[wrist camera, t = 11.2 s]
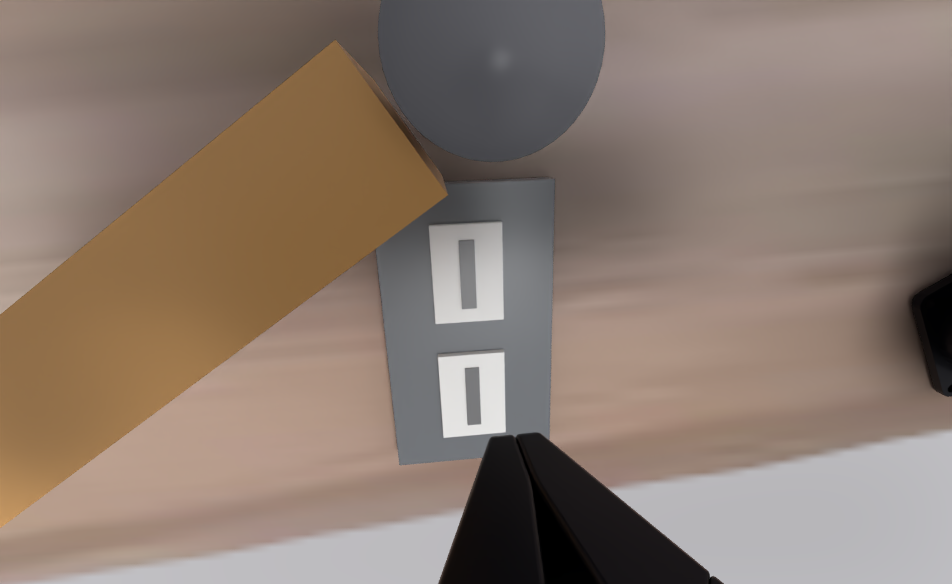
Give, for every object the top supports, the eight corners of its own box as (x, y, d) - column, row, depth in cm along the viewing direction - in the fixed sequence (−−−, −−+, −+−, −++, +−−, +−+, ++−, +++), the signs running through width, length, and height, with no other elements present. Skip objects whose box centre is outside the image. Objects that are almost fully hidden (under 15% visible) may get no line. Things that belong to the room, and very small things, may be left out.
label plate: (372, 184, 17) (367, 188, 16) (548, 177, 18) (557, 180, 17) (400, 450, 22) (398, 471, 20) (544, 438, 22) (551, 456, 21)
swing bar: (481, -17, 12) (525, -158, 6) (551, 103, 13) (643, 75, 7) (40, 337, 14) (-231, 473, 8) (134, 415, 15) (-46, 582, 9)
